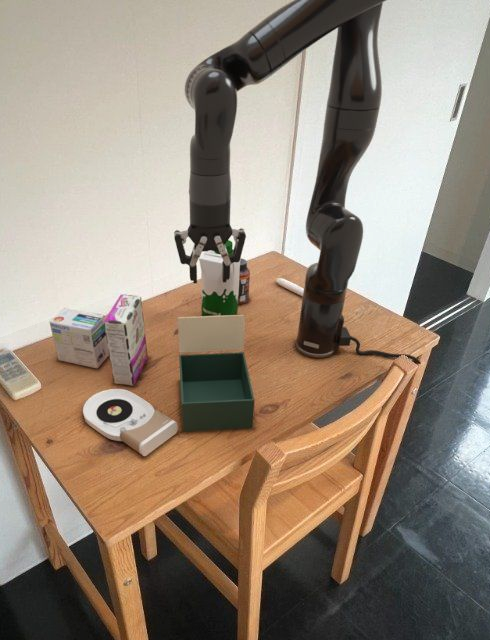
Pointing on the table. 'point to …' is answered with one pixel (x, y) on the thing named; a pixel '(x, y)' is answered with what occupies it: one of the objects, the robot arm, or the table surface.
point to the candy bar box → (126, 339)
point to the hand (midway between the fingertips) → (209, 280)
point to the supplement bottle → (243, 282)
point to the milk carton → (218, 284)
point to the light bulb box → (80, 337)
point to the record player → (128, 420)
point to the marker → (290, 286)
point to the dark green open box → (215, 392)
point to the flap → (211, 333)
